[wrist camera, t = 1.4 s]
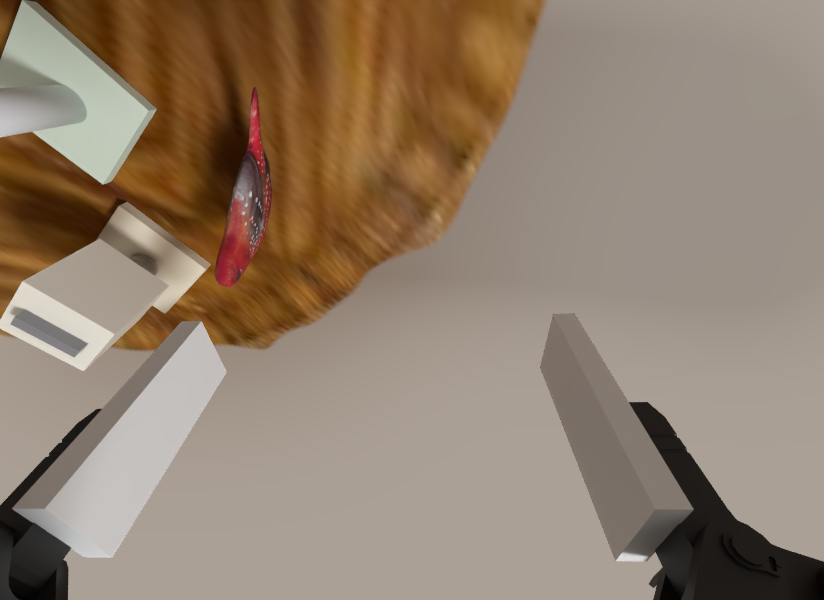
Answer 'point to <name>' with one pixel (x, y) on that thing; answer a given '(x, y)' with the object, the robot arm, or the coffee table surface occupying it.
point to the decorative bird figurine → (246, 207)
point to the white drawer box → (82, 304)
